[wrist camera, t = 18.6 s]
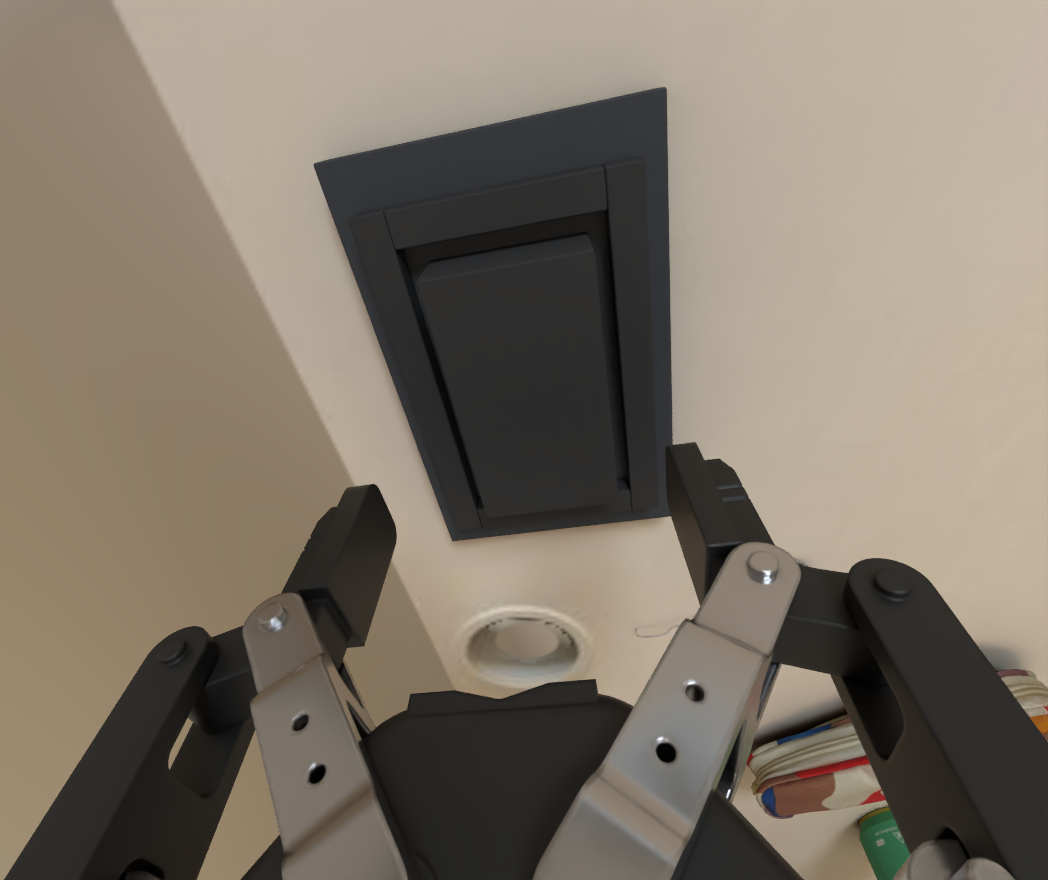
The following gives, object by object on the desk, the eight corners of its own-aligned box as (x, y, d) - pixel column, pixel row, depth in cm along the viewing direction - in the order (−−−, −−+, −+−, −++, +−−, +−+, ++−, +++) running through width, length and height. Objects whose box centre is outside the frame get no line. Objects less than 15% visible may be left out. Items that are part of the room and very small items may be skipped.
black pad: (429, 260, 17) (414, 281, 15) (587, 230, 16) (594, 249, 14) (491, 481, 23) (486, 519, 21) (611, 466, 22) (619, 503, 20)
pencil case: (1030, 711, 35) (1096, 793, 31) (755, 772, 41) (779, 847, 37) (1018, 630, 30) (1095, 715, 26) (706, 714, 36) (728, 792, 32)
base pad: (325, 160, 17) (299, 167, 15) (658, 88, 15) (675, 85, 13) (455, 525, 26) (449, 556, 24) (668, 499, 25) (678, 531, 23)
